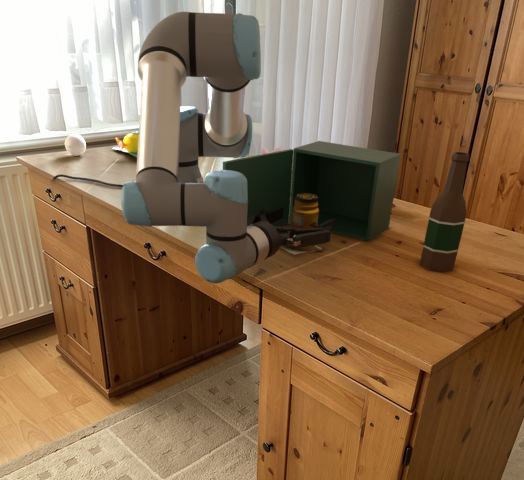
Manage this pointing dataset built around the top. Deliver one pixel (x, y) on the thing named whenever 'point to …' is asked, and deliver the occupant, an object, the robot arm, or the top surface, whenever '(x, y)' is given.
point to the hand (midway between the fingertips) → (306, 218)
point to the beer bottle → (446, 220)
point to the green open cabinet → (347, 186)
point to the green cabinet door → (266, 181)
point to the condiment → (304, 218)
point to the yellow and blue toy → (129, 143)
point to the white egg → (75, 145)
